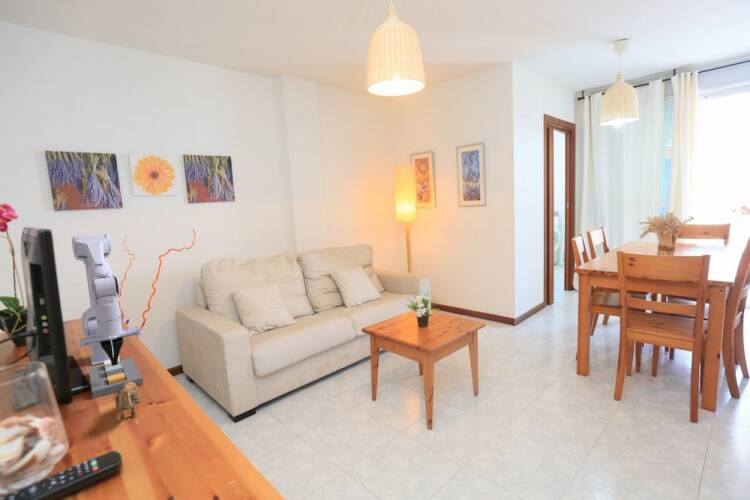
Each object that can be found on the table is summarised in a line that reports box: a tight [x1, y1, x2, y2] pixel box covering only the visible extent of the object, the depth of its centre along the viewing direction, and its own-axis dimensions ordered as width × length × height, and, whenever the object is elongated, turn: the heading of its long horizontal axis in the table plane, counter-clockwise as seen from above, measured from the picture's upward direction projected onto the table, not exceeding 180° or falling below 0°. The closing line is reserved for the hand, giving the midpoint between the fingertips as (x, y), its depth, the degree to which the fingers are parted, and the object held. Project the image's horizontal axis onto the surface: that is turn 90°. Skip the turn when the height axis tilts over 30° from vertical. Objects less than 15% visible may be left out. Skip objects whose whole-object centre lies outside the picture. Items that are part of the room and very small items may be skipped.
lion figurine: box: [115, 382, 142, 423], centre depth 98 cm, size 15×5×9 cm, turn 35°
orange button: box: [107, 372, 126, 385], centre depth 113 cm, size 4×4×2 cm
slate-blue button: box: [105, 364, 123, 376], centre depth 118 cm, size 4×4×2 cm
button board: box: [88, 356, 144, 399], centre depth 118 cm, size 21×12×2 cm, turn 39°
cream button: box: [103, 358, 120, 370], centre depth 123 cm, size 4×4×2 cm
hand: (114, 364), depth 112 cm, fingers closed
